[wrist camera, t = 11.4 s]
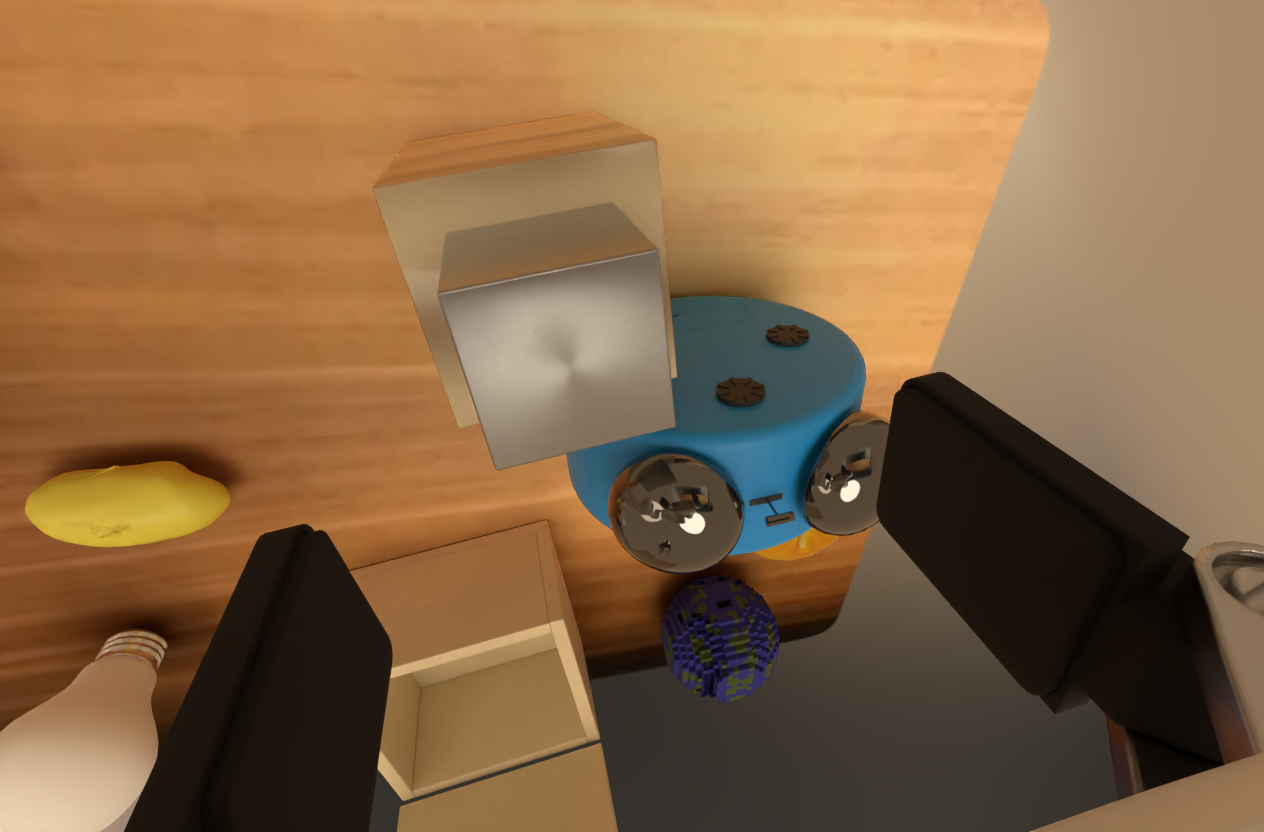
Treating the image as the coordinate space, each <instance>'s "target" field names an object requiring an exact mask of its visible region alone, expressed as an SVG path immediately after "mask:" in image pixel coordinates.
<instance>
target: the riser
mask: <svg viewBox="0 0 1264 832" xmlns="http://www.w3.org/2000/svg"><path fill="white" fill-rule="evenodd" d="M372 191H373V193H374V196H375V199H376V202H377V204H378V207H379V210H380V213H381V215H382V218H383V221H384V224H385V226H386V229H387V232H388V235H389V237H390V240H391V243H392V246H393V248H394V251H395V254H396V257H397V260H398V262H399V265H400V268H401V271H402V273H403V276H404V279H405V282H406V284H407V287H408V290H409V293H410V295H411V298H412V301H413V304H414V306H415V309H416V312H417V315H418V317H419V320H420V323H421V326H422V328H423V331H424V334H425V337H426V339H427V342H428V345H429V348H430V350H431V353H432V356H433V359H434V361H435V364H436V367H437V370H438V372H439V375H440V378H441V381H442V384H443V386H444V389H445V392H446V395H447V397H448V400H449V403H450V406H451V408H452V411H453V414H454V417H455V419H456V422H457V425H458V427H459V428H461V427H466V426H470V425H474V424H478V423H480V422H479V419H478V416H477V413H476V410H475V407H474V404H473V401H472V398H471V395H470V392H469V389H468V386H467V383H466V380H465V377H464V374H463V371H462V368H461V365H460V362H459V359H458V356H457V353H456V350H455V347H454V344H453V341H452V338H451V335H450V332H449V329H448V326H447V323H446V320H445V317H444V314H443V311H442V308H441V305H440V302H439V299H438V296H437V291H438V284H439V277H440V269H441V262H442V255H443V248H444V241H445V234H447V233H452V232H457V231H463V230H468V229H473V228H479V227H484V226H489V225H495V224H500V223H505V222H511V221H516V220H521V219H527V218H532V217H537V216H543V215H548V214H553V213H559V212H564V211H569V210H575V209H580V208H585V207H591V206H596V205H601V204H607V203H614V204H615V205H616V206H617V207H618V208H619V209H620V210H621V211H622V212H623V213H624V214H625V215H626V216H627V217H628V218H629V219H630V220H631V221H632V222H633V223H634V224H635V225H636V226H637V227H638V228H639V229H640V230H641V231H642V232H643V233H644V234H645V235H646V236H647V237H648V238H649V239H650V240H651V241H652V242H653V243H654V244H655V245H656V246H657V247H658V249H659V252H660V263H661V273H662V284H663V294H664V305H665V315H666V326H667V336H668V346H669V357H670V367H671V378H675V377H677V368H676V357H675V345H674V334H673V323H672V312H671V300H670V289H669V278H668V267H667V255H666V244H665V233H664V222H663V210H662V199H661V188H660V177H659V165H658V154H657V143H656V139H655V138H653V137H650V136H648V135H646V134H644V133H641V132H639V131H637V130H634V129H632V128H630V127H627V126H625V125H623V124H620V123H618V122H616V121H613V120H611V119H609V118H607V117H604V116H602V115H600V114H597V113H595V112H587V113H581V114H575V115H569V116H563V117H557V118H551V119H545V120H539V121H533V122H527V123H521V124H514V125H508V126H502V127H496V128H490V129H484V130H478V131H472V132H466V133H460V134H454V135H448V136H442V137H436V138H430V139H424V140H418V141H411V142H407V143H406V144H405V145H404V146H403V148H402V149H401V150H400V152H399V153H398V154H397V156H396V157H395V158H394V160H393V161H392V162H391V164H390V165H389V166H388V168H387V169H386V170H385V172H384V173H383V174H382V176H381V177H380V178H379V180H378V181H377V182H376V184H375V185H374V186H373V188H372Z"/></svg>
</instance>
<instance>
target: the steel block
mask: <svg viewBox="0 0 1264 832" xmlns="http://www.w3.org/2000/svg"><path fill="white" fill-rule="evenodd" d="M437 296H438V299H439V302H440V305H441V308H442V311H443V314H444V317H445V320H446V323H447V326H448V329H449V332H450V335H451V338H452V341H453V344H454V347H455V350H456V353H457V356H458V359H459V362H460V365H461V368H462V371H463V374H464V377H465V380H466V383H467V386H468V389H469V392H470V395H471V398H472V401H473V404H474V407H475V410H476V413H477V416H478V419H479V422H480V425H481V428H482V431H483V434H484V437H485V440H486V443H487V446H488V448H489V451H490V454H491V457H492V460H493V463H494V466H495V469H496V470H502V469H506V468H510V467H514V466H518V465H522V464H526V463H530V462H534V461H539V460H543V459H547V458H551V457H555V456H559V455H563V454H567V453H571V452H575V451H579V450H583V449H587V448H591V447H596V446H600V445H604V444H608V443H612V442H616V441H620V440H624V439H628V438H632V437H636V436H640V435H644V434H648V433H653V432H657V431H661V430H665V429H669V428H673V427H675V426H676V420H675V409H674V399H673V388H672V378H671V367H670V357H669V346H668V336H667V326H666V315H665V305H664V294H663V284H662V273H661V263H660V252H659V249H658V247H657V246H656V245H655V244H654V243H653V242H652V241H651V240H650V239H649V238H648V237H647V236H646V235H645V234H644V233H643V232H642V231H641V230H640V229H639V228H638V227H637V226H636V225H635V224H634V223H633V222H632V221H631V220H630V219H629V218H628V217H627V216H626V215H625V214H624V213H623V212H622V211H621V210H620V209H619V208H618V207H617V206H616V205H615V204H614V203H607V204H601V205H596V206H591V207H585V208H580V209H575V210H569V211H564V212H559V213H553V214H548V215H543V216H537V217H532V218H527V219H521V220H516V221H511V222H505V223H500V224H495V225H489V226H484V227H479V228H473V229H468V230H463V231H457V232H452V233H447V234H445V241H444V248H443V255H442V262H441V269H440V277H439V284H438V291H437Z"/></svg>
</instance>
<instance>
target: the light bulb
mask: <svg viewBox="0 0 1264 832" xmlns="http://www.w3.org/2000/svg"><path fill="white" fill-rule="evenodd" d="M168 646H169V645H168V643H167V641H166V640H165V639H164V638H163V637H161V636H160V635H158V634H157V633H155V632H151V631H148V630H142V629H130V630H123V631H121V632H119V633H116V634H114V635H113V636H111V637H109V638H108V639H107V640H106V642H105V643H104V644H103V647H102V648H101V649H100V650H99V653H98V654H97V656H96V657H95V661H94V662H93V663H91V664H89V665H88V666H86V667H85V668H84V669H83V670H82V671H81V672H80V674H79V675H78V676H77V678H76V679H75V680H74V681H73V682H72V683H71V685H70V686H68V687H67V688H66V689H65V690H63V691H62V692H60V693H59V694H57V695H56V696H54V697H52V698H51V699H49V700H48V701H46V702H44V703H43V704H41V705H39V706H37V707H36V708H34V709H32V710H31V711H29V712H27V713H26V714H24V715H22V716H21V717H19V718H18V719H16V720H14V721H13V722H12V723H11V724H9V725H8V726H7V727H6V728H5V729H3V730H2V731H1V732H0V832H100V831H102V830H103V829H105V828H106V827H107V826H109V825H110V824H111V823H113V822H114V821H115V820H116V819H117V818H118V817H119V816H120V815H122V814H123V813H124V812H125V811H126V810H127V809H128V807H129V806H130V805H131V804H132V803H133V801H134V800H135V799H136V798H137V796H138V795H139V794H140V793H141V791H142V790H143V788H144V786H145V784H146V782H147V780H148V778H149V775H150V773H151V771H152V769H153V767H154V764H155V761H156V758H157V752H158V735H157V731H156V726H155V722H154V718H153V714H152V709H151V695H152V692H153V689H154V687H155V684H156V679H157V676H156V673H155V670H156V669H157V668H158V667H159V666H160V665H161V663H162V660H163V659H164V658H165V650H166V648H167V647H168Z"/></svg>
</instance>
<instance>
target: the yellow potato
mask: <svg viewBox="0 0 1264 832" xmlns="http://www.w3.org/2000/svg"><path fill="white" fill-rule="evenodd" d="M230 502H231V496H230V493H229V491H228V490H227V489H226V487H225V486H223V485H222V484H221V483H219V482H217V481H215V480H213V479H210V478H207V477H204V476H201V475H199V474H196V473H193V472H191V471H190V470H188V469H187V468H186V467H185V466H183V465H182V464H179V463H177V462H171V461H158V462H150V463H144V464H139V465H128V466H115V465H114V466H112V467H110V468H102V469H88V470H78V471H72V472H67V473H64V474H61V475H59V476H56V477H54V478H52V479H50V480H49V481H47V482H45V483H43V484H42V485H40V486H39V487H37V488H36V489H35V490H34V491H33V492H32V493H31V494H30V495H29V497H28V499H27V501H26V507H25V513H26V514H27V516H28V517H29V519H30V520H31V522H32V523H33V524H34V525H35V526H36V527H37V528H38V529H40V530H41V531H42V532H44V533H45V534H47V535H49V536H51V537H53V538H55V539H58V540H61V541H65V542H69V543H74V544H80V545H86V546H93V547H119V546H133V545H140V544H147V543H152V542H157V541H163V540H167V539H172V538H176V537H180V536H184V535H187V534H190V533H192V532H195V531H197V530H200V529H202V528H204V527H206V526H208V525H210V524H211V523H213V522H214V521H215V520H216V519H218V518H219V517H220V516H221V515H222V514H223V512H224V511H225V510H226V509H227V507H228V506H229V504H230Z"/></svg>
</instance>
